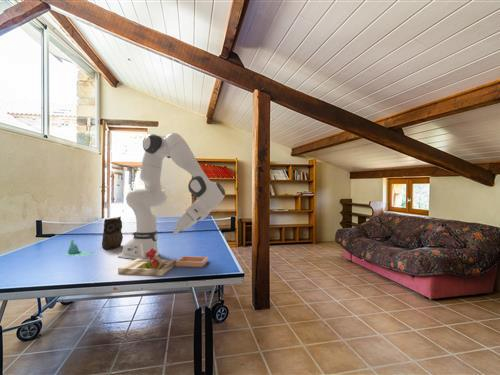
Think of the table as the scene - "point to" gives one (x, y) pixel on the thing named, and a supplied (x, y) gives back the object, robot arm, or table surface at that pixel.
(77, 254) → the diorama
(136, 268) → the puzzle board
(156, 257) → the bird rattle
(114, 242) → the brown owl figurine
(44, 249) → the table surface
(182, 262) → the terracotta tray
